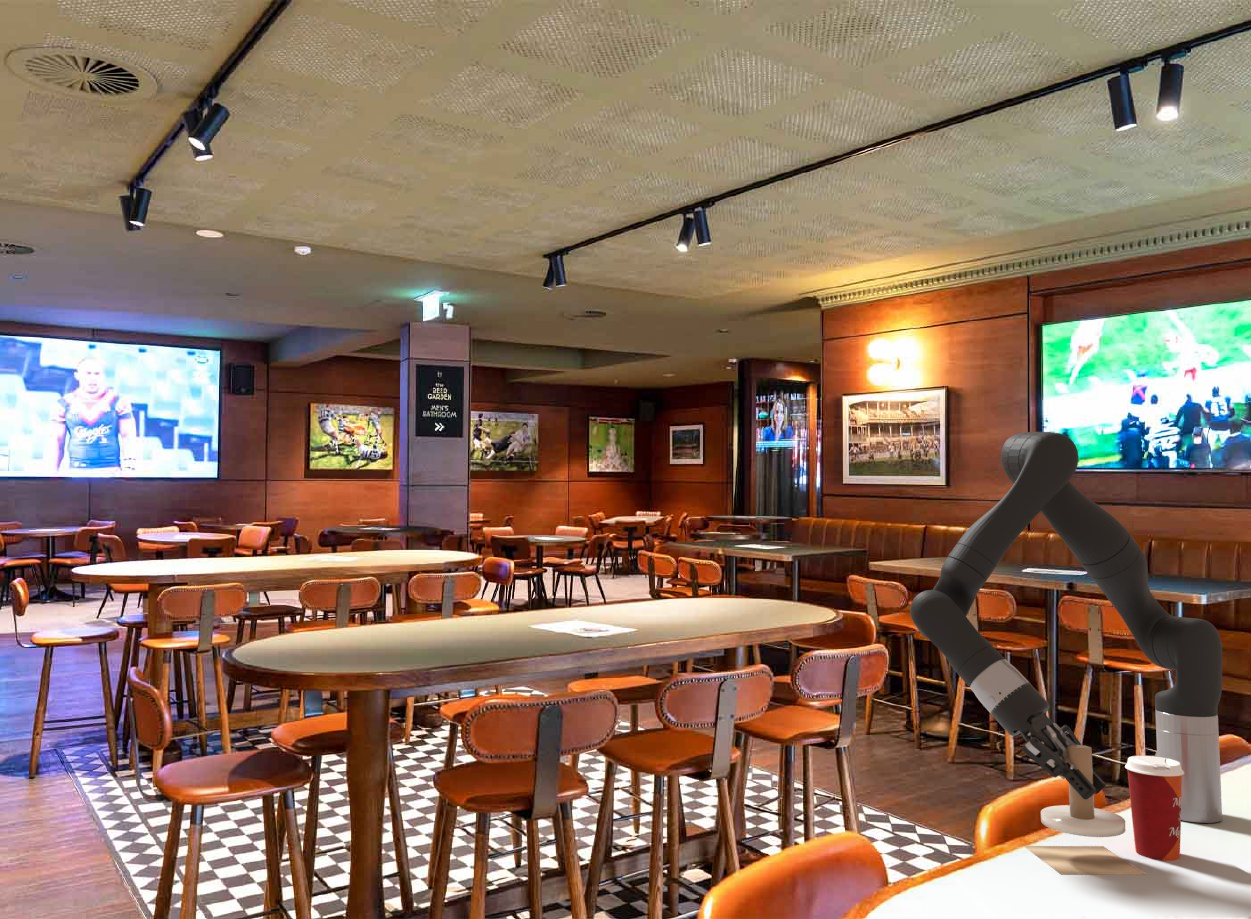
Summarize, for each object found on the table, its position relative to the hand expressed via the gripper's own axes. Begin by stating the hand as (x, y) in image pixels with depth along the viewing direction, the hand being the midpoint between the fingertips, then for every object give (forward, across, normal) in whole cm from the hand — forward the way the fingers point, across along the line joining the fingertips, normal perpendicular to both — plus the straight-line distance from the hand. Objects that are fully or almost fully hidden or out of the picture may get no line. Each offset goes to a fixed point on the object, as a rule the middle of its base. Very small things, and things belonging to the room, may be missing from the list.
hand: (1095, 792), depth 136 cm
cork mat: (+6, 0, +9) cm, 10 cm away
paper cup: (+11, +10, +4) cm, 16 cm away
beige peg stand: (+2, 0, +5) cm, 5 cm away
